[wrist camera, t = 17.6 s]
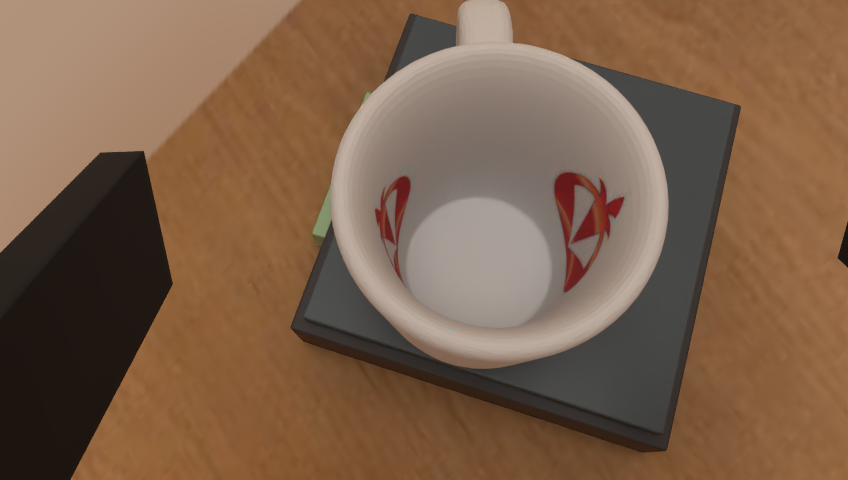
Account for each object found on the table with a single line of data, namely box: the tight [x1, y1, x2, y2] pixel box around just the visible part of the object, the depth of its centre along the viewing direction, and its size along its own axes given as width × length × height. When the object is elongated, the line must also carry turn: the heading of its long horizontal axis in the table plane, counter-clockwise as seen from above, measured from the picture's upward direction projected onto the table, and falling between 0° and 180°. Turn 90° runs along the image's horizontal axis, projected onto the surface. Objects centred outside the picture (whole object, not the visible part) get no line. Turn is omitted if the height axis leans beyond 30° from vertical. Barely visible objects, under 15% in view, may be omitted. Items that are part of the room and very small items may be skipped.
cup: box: [330, 0, 669, 369], centre depth 21 cm, size 11×8×8 cm
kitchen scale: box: [291, 14, 741, 452], centre depth 27 cm, size 14×13×3 cm
